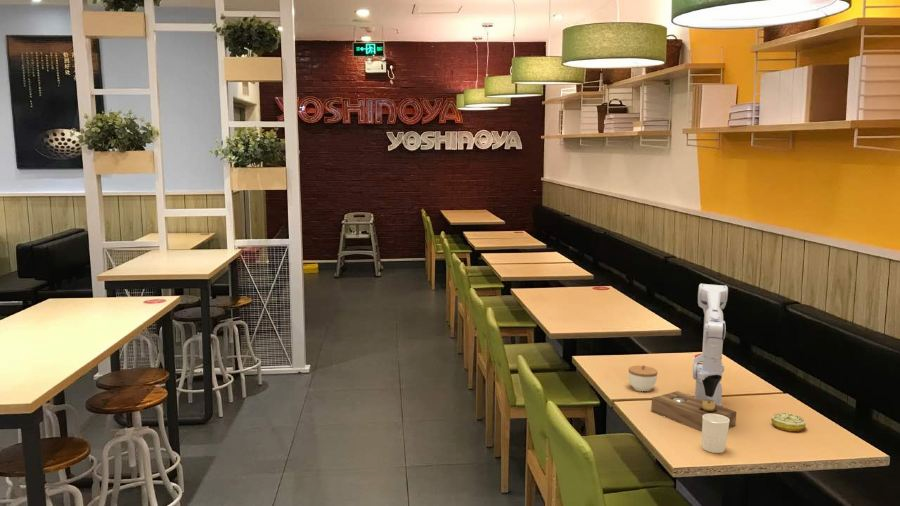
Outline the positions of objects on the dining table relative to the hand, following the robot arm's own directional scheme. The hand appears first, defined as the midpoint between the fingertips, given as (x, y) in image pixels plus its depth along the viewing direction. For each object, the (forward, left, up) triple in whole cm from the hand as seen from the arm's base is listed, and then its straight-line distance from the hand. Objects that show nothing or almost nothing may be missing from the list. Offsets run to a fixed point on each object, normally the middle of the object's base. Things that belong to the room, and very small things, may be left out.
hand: (709, 396), depth 247 cm
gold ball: (0, 0, -7) cm, 7 cm away
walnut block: (0, -6, -10) cm, 12 cm away
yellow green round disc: (-22, +16, -10) cm, 29 cm away
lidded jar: (-9, -36, -10) cm, 38 cm away
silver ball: (0, -12, -10) cm, 16 cm away
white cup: (+16, +14, -10) cm, 24 cm away
